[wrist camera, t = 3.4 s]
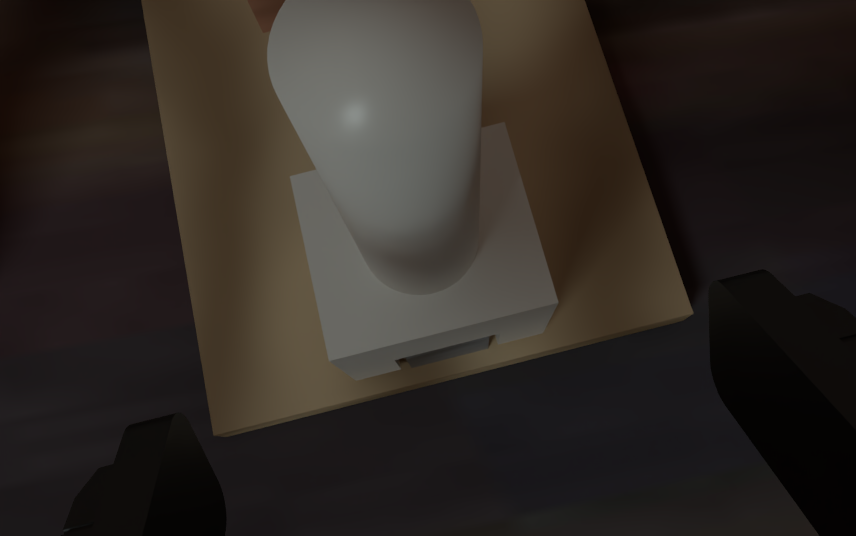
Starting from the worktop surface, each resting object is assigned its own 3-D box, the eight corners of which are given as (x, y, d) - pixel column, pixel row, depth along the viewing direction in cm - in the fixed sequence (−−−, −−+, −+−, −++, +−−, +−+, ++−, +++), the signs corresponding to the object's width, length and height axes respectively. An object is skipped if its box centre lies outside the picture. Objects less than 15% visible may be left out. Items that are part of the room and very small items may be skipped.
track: (226, 436, 24) (143, 427, 18) (149, -12, 28) (62, -140, 22) (682, 321, 24) (751, 272, 18) (535, -109, 29) (552, -262, 23)
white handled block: (356, 380, 23) (199, 268, 10) (322, 227, 24) (145, -52, 11) (542, 333, 23) (632, 157, 10) (499, 182, 24) (527, -149, 11)
